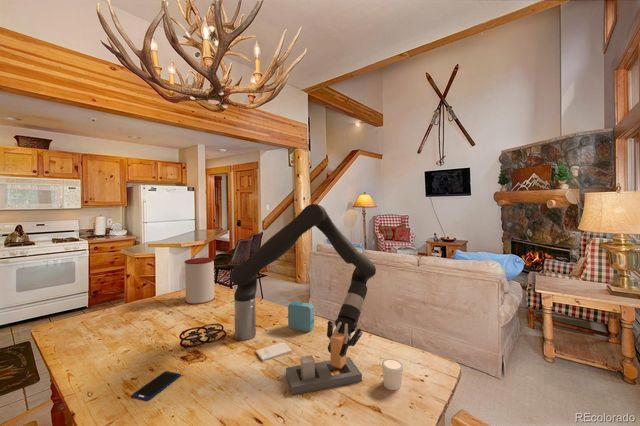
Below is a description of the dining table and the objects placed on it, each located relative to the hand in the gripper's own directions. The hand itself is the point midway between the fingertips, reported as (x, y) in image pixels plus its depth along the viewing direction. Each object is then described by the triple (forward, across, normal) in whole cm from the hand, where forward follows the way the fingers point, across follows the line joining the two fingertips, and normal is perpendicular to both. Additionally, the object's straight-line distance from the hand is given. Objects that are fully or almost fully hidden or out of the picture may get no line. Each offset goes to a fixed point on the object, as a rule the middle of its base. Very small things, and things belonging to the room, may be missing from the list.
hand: (335, 353), depth 97 cm
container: (-9, -112, +21) cm, 114 cm away
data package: (-11, -34, +23) cm, 42 cm away
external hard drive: (+6, -30, +7) cm, 31 cm away
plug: (+2, 0, +5) cm, 5 cm away
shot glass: (+1, +18, +11) cm, 21 cm away
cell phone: (+32, -48, -19) cm, 60 cm away
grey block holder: (+8, -4, +4) cm, 9 cm away
